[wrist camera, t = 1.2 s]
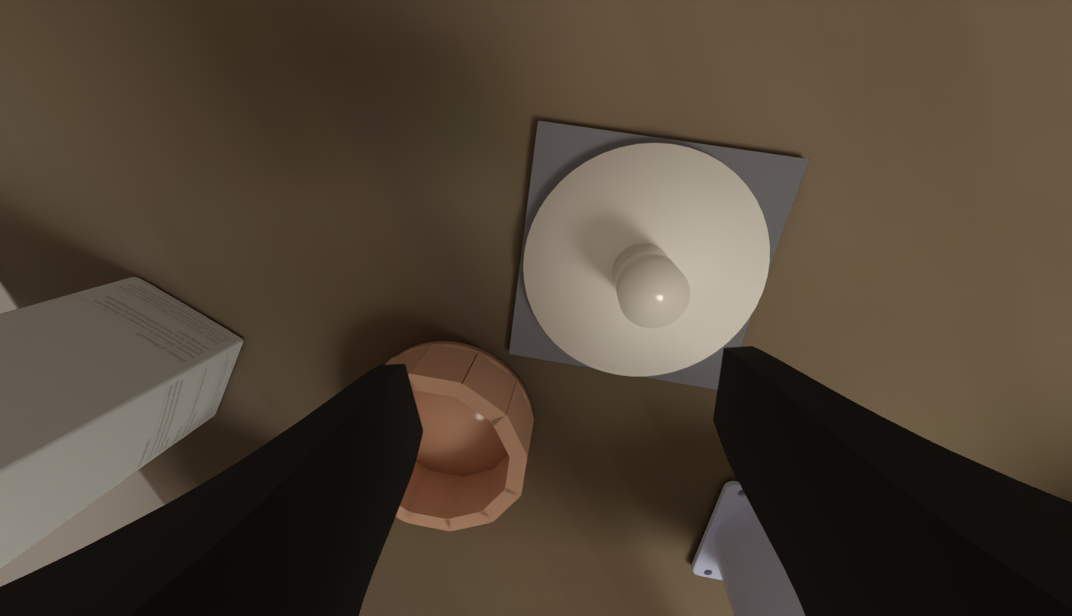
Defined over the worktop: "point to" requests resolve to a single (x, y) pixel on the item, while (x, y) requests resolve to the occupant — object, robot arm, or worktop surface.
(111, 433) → the supplement box
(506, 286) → the worktop surface
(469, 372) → the ramekin
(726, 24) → the worktop surface
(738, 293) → the lid
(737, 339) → the mat
